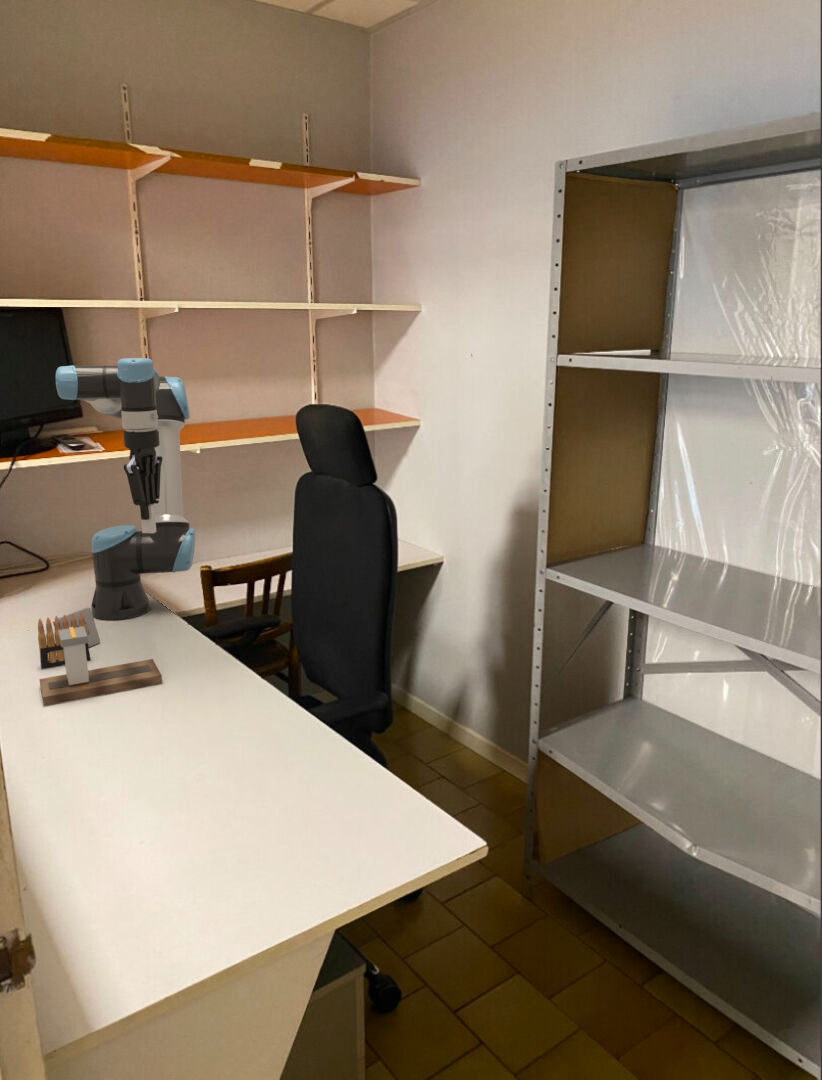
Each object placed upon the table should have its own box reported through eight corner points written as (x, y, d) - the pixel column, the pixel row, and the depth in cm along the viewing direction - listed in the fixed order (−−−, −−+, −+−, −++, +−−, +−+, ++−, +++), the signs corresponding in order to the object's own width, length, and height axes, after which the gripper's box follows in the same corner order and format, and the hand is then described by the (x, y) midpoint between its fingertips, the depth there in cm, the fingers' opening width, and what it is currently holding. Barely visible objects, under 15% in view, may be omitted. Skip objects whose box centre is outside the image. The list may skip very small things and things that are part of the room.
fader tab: (88, 671, 182) (83, 625, 179) (92, 682, 176) (87, 635, 174) (63, 675, 180) (57, 629, 177) (66, 687, 174) (60, 639, 171)
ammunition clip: (41, 669, 189) (35, 620, 186) (40, 666, 191) (34, 618, 188) (90, 660, 194) (85, 612, 191) (89, 658, 196) (84, 610, 193)
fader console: (153, 666, 190) (152, 658, 190) (162, 683, 182) (161, 674, 181) (40, 687, 180) (39, 678, 179) (44, 706, 171) (42, 696, 171)
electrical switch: (70, 656, 196) (63, 619, 194) (55, 654, 199) (49, 617, 197) (101, 643, 204) (95, 607, 202) (87, 641, 207) (81, 606, 205)
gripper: (140, 433, 176) (149, 540, 182) (170, 426, 188) (178, 526, 194) (109, 432, 178) (119, 538, 184) (140, 425, 190) (149, 524, 196)
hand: (149, 532), depth 189 cm, fingers closed
